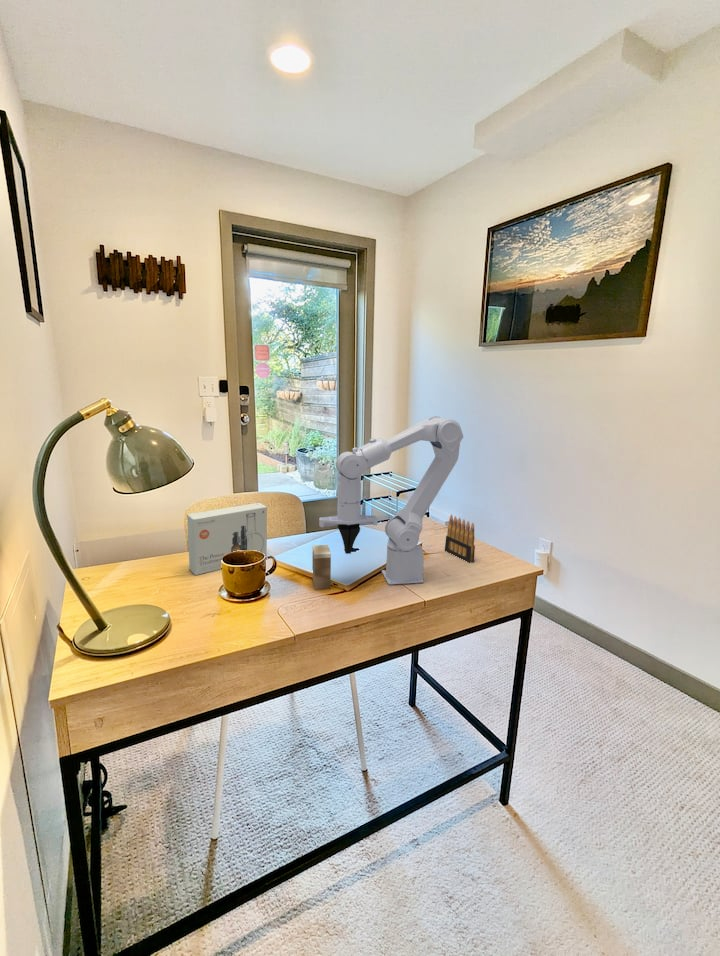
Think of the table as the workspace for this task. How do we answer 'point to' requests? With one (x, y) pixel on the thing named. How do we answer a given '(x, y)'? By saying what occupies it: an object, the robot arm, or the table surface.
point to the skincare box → (225, 534)
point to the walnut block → (321, 567)
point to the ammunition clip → (460, 539)
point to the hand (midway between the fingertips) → (347, 552)
